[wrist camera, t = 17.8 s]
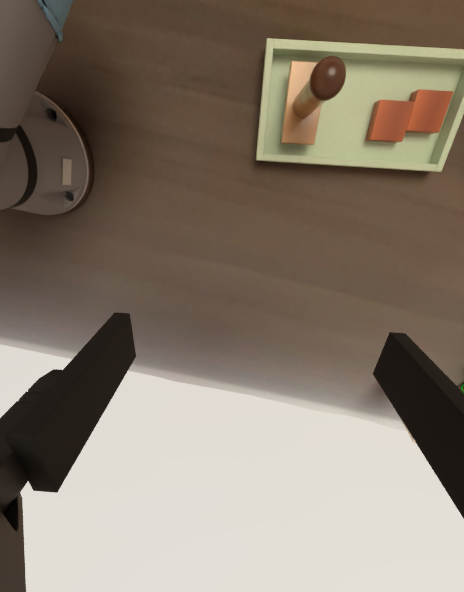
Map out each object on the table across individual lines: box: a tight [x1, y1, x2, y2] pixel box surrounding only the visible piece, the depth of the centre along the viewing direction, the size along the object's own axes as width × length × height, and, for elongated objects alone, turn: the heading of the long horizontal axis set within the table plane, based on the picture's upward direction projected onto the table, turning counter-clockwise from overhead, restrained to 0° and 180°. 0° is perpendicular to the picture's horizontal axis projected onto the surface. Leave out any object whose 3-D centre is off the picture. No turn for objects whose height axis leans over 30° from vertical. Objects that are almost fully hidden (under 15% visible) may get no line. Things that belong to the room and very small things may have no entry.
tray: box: [256, 38, 464, 172], centre depth 31 cm, size 24×12×2 cm, turn 87°
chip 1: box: [365, 100, 414, 143], centre depth 31 cm, size 4×4×2 cm
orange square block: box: [405, 89, 453, 134], centre depth 30 cm, size 4×4×2 cm
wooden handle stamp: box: [280, 56, 346, 146], centre depth 25 cm, size 4×8×13 cm, turn 177°
